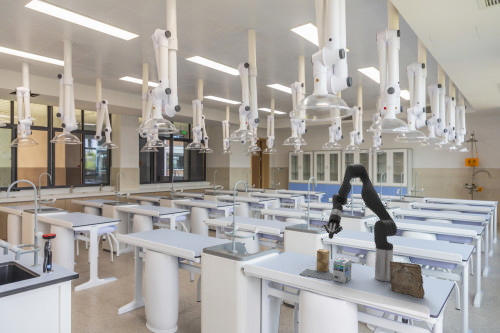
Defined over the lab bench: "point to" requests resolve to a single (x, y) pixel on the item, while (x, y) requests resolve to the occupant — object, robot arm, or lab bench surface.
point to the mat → (317, 274)
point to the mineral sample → (406, 279)
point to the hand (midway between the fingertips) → (330, 238)
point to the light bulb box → (342, 270)
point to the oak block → (322, 260)
